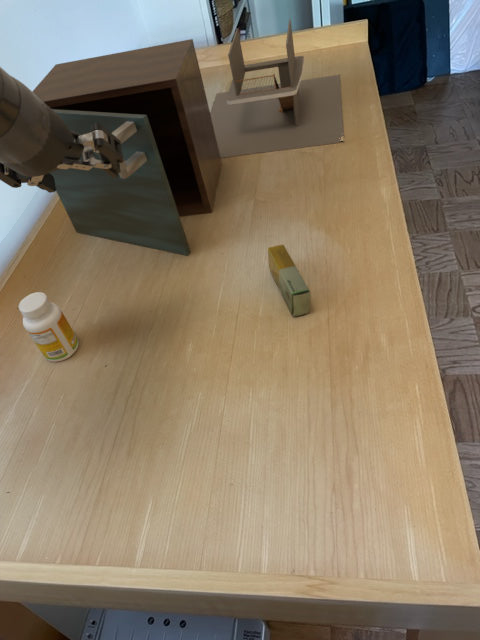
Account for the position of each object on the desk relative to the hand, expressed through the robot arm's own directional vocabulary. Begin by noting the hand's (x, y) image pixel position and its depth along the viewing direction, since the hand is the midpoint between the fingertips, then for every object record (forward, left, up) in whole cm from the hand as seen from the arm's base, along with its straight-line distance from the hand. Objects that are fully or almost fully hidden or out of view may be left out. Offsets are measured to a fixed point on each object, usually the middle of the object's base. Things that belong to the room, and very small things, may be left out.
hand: (83, 177), depth 68 cm
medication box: (+24, 0, -22) cm, 33 cm away
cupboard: (-4, +32, -22) cm, 39 cm away
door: (-6, +14, -22) cm, 27 cm away
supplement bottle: (-10, -9, -22) cm, 26 cm away
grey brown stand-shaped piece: (+19, +61, -22) cm, 68 cm away
